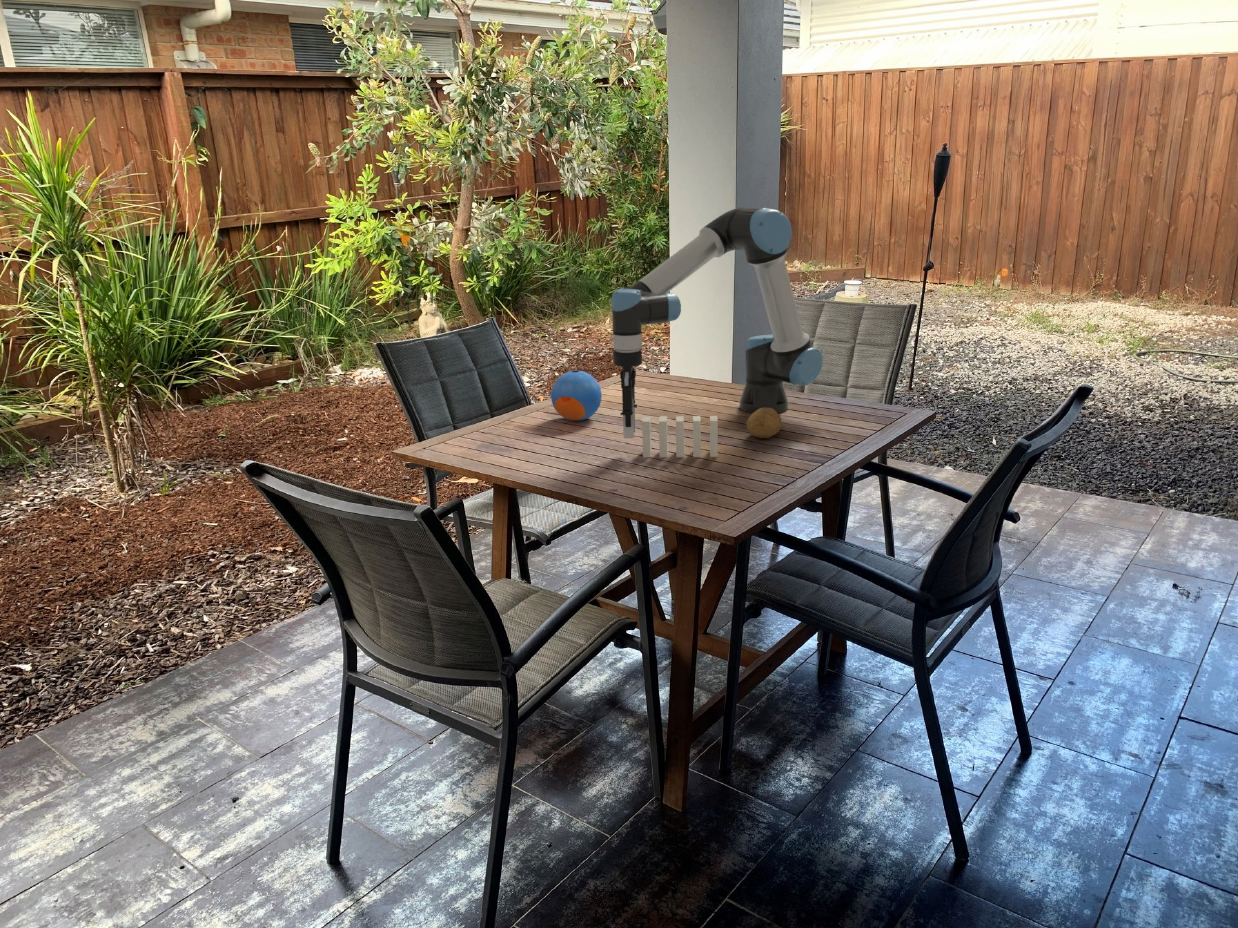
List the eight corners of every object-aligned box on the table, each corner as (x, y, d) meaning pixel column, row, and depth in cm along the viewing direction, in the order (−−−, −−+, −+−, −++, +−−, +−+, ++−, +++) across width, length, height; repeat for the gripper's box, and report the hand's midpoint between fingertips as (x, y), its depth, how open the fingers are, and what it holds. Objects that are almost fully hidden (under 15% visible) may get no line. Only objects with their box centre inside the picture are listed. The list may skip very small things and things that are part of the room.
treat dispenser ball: (544, 424, 278) (541, 375, 273) (565, 411, 292) (562, 364, 287) (590, 428, 273) (588, 378, 268) (609, 415, 286) (608, 367, 281)
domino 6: (717, 451, 248) (717, 416, 245) (717, 457, 243) (717, 421, 240) (709, 451, 248) (709, 416, 245) (710, 457, 243) (710, 421, 240)
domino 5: (700, 451, 248) (700, 416, 245) (700, 457, 244) (700, 421, 240) (693, 451, 248) (693, 416, 245) (693, 457, 244) (693, 421, 240)
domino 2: (651, 451, 249) (650, 416, 246) (650, 457, 245) (649, 421, 242) (644, 451, 250) (643, 416, 246) (642, 457, 245) (642, 421, 242)
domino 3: (667, 451, 249) (667, 416, 246) (667, 457, 244) (666, 421, 241) (660, 451, 249) (659, 416, 246) (659, 457, 244) (659, 421, 241)
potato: (782, 430, 265) (783, 403, 262) (779, 444, 252) (780, 416, 249) (749, 429, 267) (749, 402, 264) (744, 443, 254) (744, 415, 251)
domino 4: (684, 451, 249) (683, 416, 245) (683, 457, 244) (683, 421, 241) (676, 451, 249) (676, 416, 246) (676, 457, 244) (675, 421, 241)
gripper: (616, 343, 247) (618, 425, 255) (610, 356, 230) (612, 444, 237) (643, 343, 247) (645, 425, 254) (639, 356, 229) (641, 444, 237)
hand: (629, 434), depth 246 cm, fingers closed on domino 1, 5 cm apart
